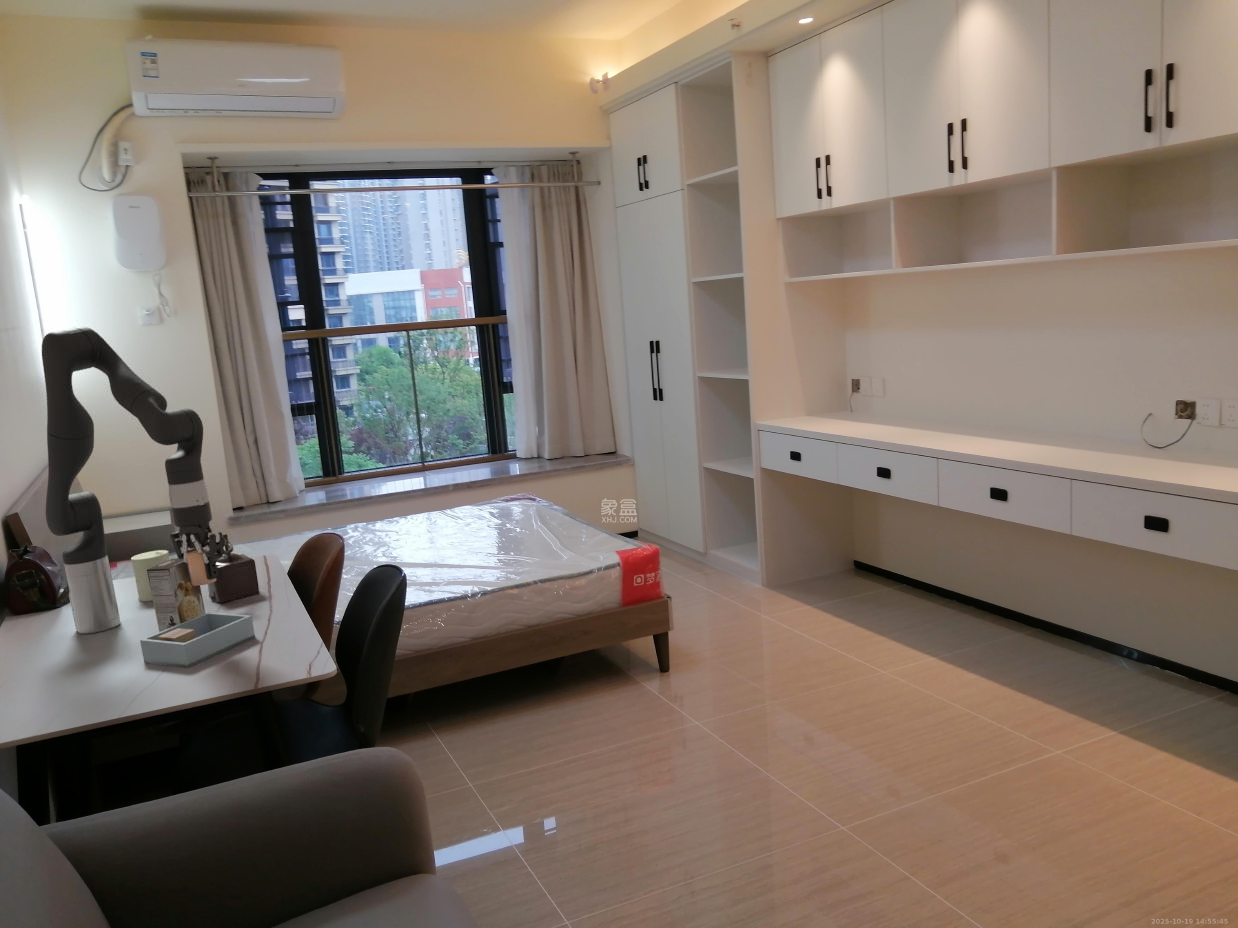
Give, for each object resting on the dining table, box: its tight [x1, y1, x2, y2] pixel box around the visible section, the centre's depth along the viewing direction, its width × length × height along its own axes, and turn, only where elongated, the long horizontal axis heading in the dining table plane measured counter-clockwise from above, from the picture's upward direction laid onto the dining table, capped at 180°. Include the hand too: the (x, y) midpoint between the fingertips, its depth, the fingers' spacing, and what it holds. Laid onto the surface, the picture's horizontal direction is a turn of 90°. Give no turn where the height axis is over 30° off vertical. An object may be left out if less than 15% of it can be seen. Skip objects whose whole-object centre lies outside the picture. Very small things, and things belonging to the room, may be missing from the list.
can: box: [130, 549, 170, 602], centre depth 250 cm, size 9×9×12 cm
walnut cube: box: [158, 628, 196, 643], centre depth 197 cm, size 5×5×5 cm
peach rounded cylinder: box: [186, 547, 217, 586], centre depth 202 cm, size 5×5×7 cm
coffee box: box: [147, 557, 207, 633], centre depth 217 cm, size 9×6×16 cm
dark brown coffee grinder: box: [207, 533, 260, 604], centre depth 239 cm, size 16×11×18 cm
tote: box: [139, 611, 256, 668], centre depth 201 cm, size 14×18×5 cm
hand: (203, 577), depth 203 cm, fingers closed on peach rounded cylinder, 5 cm apart
